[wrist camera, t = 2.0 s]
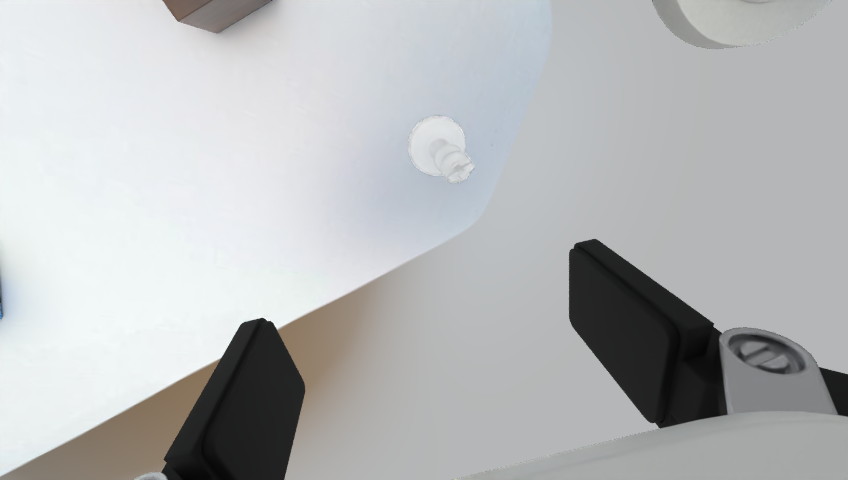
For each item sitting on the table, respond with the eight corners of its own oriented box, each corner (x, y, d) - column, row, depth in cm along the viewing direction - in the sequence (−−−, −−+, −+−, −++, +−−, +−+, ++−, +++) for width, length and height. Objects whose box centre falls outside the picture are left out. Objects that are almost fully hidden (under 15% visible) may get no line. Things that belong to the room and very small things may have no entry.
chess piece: (396, 137, 27) (405, 163, 18) (446, 103, 27) (481, 112, 18) (427, 185, 29) (448, 230, 20) (474, 154, 29) (518, 186, 20)
